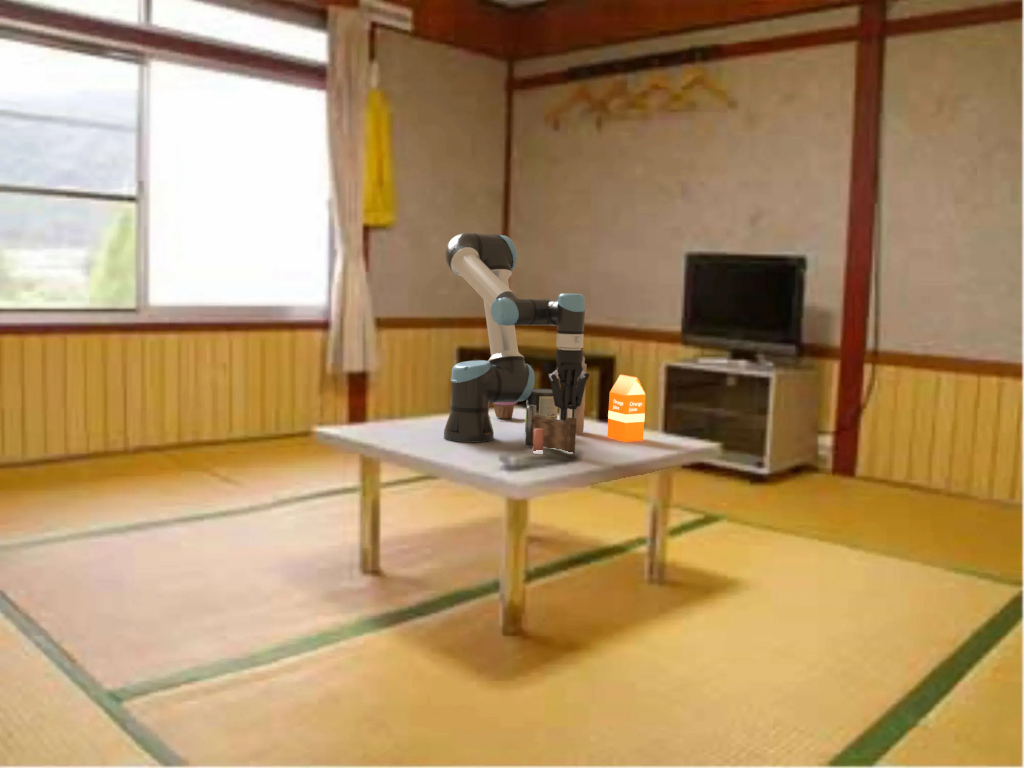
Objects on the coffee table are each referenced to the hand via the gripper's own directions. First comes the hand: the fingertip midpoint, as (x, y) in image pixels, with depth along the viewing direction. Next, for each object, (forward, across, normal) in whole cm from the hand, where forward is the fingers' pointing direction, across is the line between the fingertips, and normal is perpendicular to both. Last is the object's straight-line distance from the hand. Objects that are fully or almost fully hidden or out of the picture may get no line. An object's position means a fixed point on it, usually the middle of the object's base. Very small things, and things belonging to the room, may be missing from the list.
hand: (566, 431), depth 267 cm
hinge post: (+6, -3, +15) cm, 16 cm away
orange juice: (+7, +33, +15) cm, 37 cm away
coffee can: (+7, +10, +30) cm, 32 cm away
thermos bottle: (+7, +23, +31) cm, 39 cm away
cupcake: (+7, +16, +62) cm, 65 cm away
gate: (+5, -2, +4) cm, 7 cm away
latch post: (+6, -7, +3) cm, 10 cm away
